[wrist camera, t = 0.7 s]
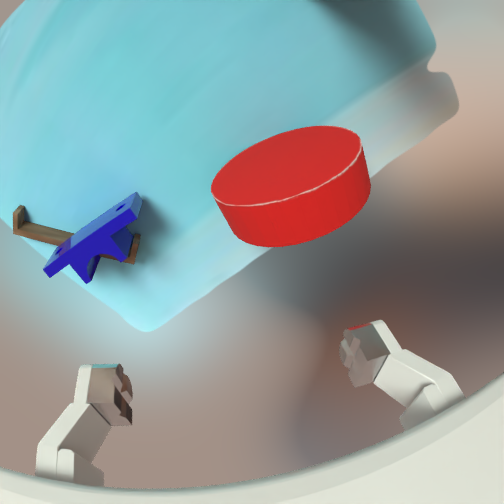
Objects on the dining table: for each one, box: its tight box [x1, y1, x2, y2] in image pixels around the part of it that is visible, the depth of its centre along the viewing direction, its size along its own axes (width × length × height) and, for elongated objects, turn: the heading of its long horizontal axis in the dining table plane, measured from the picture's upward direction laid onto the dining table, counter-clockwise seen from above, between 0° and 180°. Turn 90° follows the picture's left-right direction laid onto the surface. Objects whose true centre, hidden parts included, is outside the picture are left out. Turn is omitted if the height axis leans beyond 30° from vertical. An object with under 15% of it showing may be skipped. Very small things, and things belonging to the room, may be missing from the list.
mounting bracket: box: [43, 192, 143, 284], centre depth 42 cm, size 18×7×6 cm
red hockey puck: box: [211, 126, 371, 247], centre depth 38 cm, size 20×6×20 cm, turn 113°
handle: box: [13, 205, 140, 264], centre depth 44 cm, size 4×24×4 cm, turn 66°
